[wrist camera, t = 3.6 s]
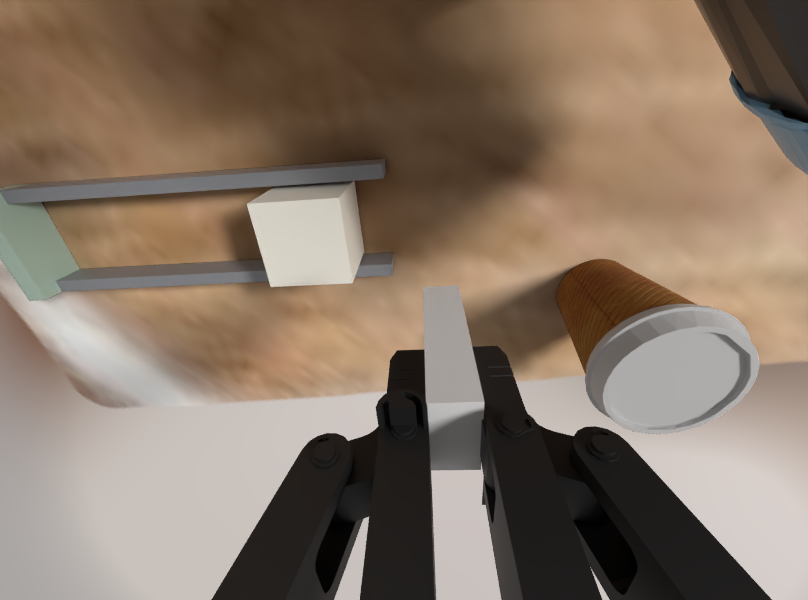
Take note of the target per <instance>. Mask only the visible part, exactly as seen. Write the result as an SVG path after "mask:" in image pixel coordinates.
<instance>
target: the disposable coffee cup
mask: <svg viewBox="0 0 808 600" xmlns="http://www.w3.org/2000/svg"><path fill="white" fill-rule="evenodd" d="M556 299H557V304H558V307H559V309H560V311H561V314H562V316H563V319H564V321H565V324H566V326H567V329H568V332H569V334H570V336H571V339H572V341H573V344H574V346H575V349H576V352H577V354H578V357H579V359H580V362H581V364H582V366H583V369H584V371H585V374H586V376H585V382H586V391H587V394H588V396H589V398H590V400H591V402H592V404H593V405H594V406H595V407H596V408H597V409H598V410H599V411H600V412H602V413H603V414H605V415H606V416H608V417H610V418H611V419H612V420H613V421H614V422H615V423H617V424H618V425H620V426H622V427H623V428H626V429H628V430H631V431H634V432H640V433H646V434H668V433H674V432H680V431H685V430H688V429H691V428H694V427H698V426H701V425H703V424H705V423H707V422H709V421H711V420H713V419H716V418H717V417H720V416H721V415H723V414H724V413H725V412H727V411H728V410H729V409H731V408H732V407H734V406H735V405H736V404H738V402H739V401H740V400H741V399H742V398H743V397H744V396H745V395H746V394H747V392H748V391H749V390H750V389H751V387H752V385H753V383H754V381H755V379H756V378H757V375H758V370H759V365H760V364H759V358H758V353H757V350H756V348H755V347H754V345H753V344H752V343H751V341H750V335H749V334H748V332H747V330H746V328H745V327H744V325H743V324H742V323H741V322H740V321H739V320H738V319H736V318H735V317H733V316H731V315H730V314H728V313H726V312H725V311H721V310H718V309H714V308H711V307H708V306H700V305H697V304H695V303H693V302H691V301H689V300H687V299H685V298H683V297H681V296H680V295H678V294H675V293H674V292H672V291H670V290H668V289H666V288H664V287H662V286H661V285H659V284H657V283H655V282H653V281H651V280H649V279H647V278H645V277H643V276H642V275H640V274H638V273H636V272H634V271H632V270H630V269H628V268H626V267H624V266H623V265H621V264H619V263H617V262H615V261H612V260H607V259H597V260H592V261H588V262H585V263H583V264H580V265H579V266H577V267H575V268H574V269H572V270H571V271H570V272H569V273H568V274H567V275H566V276H565V277H564V278H563V280H562V281H561V283H560V285H559V287H558V290H557V297H556Z"/></svg>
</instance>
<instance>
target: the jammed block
mask: <svg viewBox="0 0 808 600" xmlns="http://www.w3.org/2000/svg"><path fill="white" fill-rule="evenodd" d="M247 207H248V210H249V214H250V217H251V221H252V224H253V227H254V231H255V234H256V238H257V241H258V245H259V248H260V252H261V255H262V259H263V262H264V265H265V269H266V272H267V276H268V279H269V283H270V286H271V287H282V286H304V285H325V284H346V283H353V281H354V278H355V276H356V273H357V270H358V267H359V264H360V262H361V259H362V256H363V253H364V246H363V239H362V232H361V224H360V217H359V209H358V202H357V195H356V187H355V181H343V182H328V183H313V184H298V185H283V186H275V187H274V188H272V189H270V190H269V191H267V192H265V193H264V194H262V195H260V196H259V197H257V198H255V199H254V200H252V201H250V202H249V203H247Z"/></svg>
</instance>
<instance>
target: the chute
mask: <svg viewBox="0 0 808 600" xmlns="http://www.w3.org/2000/svg"><path fill="white" fill-rule="evenodd" d="M385 174H386V164H385V159H373V160H359V161H345V162H331V163H317V164H303V165H289V166H275V167H260V168H246V169H232V170H218V171H204V172H190V173H176V174H162V175H148V176H134V177H119V178H105V179H91V180H77V181H63V182H49V183H35V184H21V185H11V186H7V187H2V188H0V259H1V260H2V261H3V263H4V264H5V266H6V267H7V269H8V270H9V272H10V273H11V275H12V276H13V278H14V279H15V280H16V282H17V283H18V285H19V286H20V288H21V289H22V291H23V292H24V294H25V295H26V297H27V298H28V300H29V301H33V300H47V299H48V298H50V297H52V296H54V295H56V294H58V293H60V292H62V291H80V290H101V289H122V288H143V287H163V286H184V285H205V284H226V283H246V282H267V281H269V279H268V276H267V272H266V269H265V265H264V262H263V259H260V260H241V261H222V262H203V263H184V264H165V265H146V266H127V267H108V268H89V269H80V268H79V267H78V265H77V263H76V261H75V260H74V258H73V256H72V254H71V253H70V251H69V249H68V248H67V246H66V244H65V242H64V241H63V239H62V237H61V235H60V234H59V232H58V230H57V228H56V227H55V225H54V223H53V221H52V220H51V218H50V216H49V214H48V213H47V211H46V209H45V207H44V206H43V204H42V202H45V201H60V200H74V199H89V198H104V197H119V196H134V195H149V194H164V193H179V192H194V191H209V190H224V189H239V188H253V187H268V186H283V185H298V184H313V183H328V182H343V181H358V180H373V179H384V176H385ZM394 264H395V262H394V252H393V253H374V254H363V256H362V259H361V262H360V264H359V267H358V270H357V273H356V276H355V277H371V276H392V275H393V270H394Z"/></svg>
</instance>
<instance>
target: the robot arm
mask: <svg viewBox="0 0 808 600" xmlns="http://www.w3.org/2000/svg"><path fill="white" fill-rule="evenodd" d="M694 1H695V3H696V5H697V7H698V8H699V10H700V12H701V14H702V16H703V18H704V20H705V21H706V23H707V25H708V27H709V29H710V31H711V32H712V34H713V36H714V38H715V40H716V42H717V44H718V45H719V47H720V49H721V51H722V53H723V55H724V57H725V58H726V60H727V62H728V64H729V66H730V68H731V69H732V71H731V76H730V78H729V80H730V83H731V86H732V89H733V91H734V93H735V95H736V96H737V98H738V99H739V100H740V101H741V103H742V104H743V105H744V106H745V107H746V108H747V109H749V110H750V111H751V112H752V113H753V114H755V115H756V116H758V117H760V119H761V120H762V122H763V123H764V125H765V126H766V128H767V129H768V131H769V132H770V134H771V135H772V137H773V138H774V140H775V141H776V143H777V144H778V146H779V147H780V149H781V150H782V152H783V153H784V154H785V156H786V157H787V158H788V159H789V160H790V161H791V162H792V163H793V164H794V165H795V166H796V167H797V168H799V169H800V170H802V171H803V172H804V173H805V174H807V175H808V0H694ZM423 314H424V350H399V351H396V353H395V354H394V356H393V357H392V358H391V360H390V368H389V377H388V387H387V394H385V395H384V396H383V397H382V398H381V399H380V400H379V401H378V404H377V406H376V411H377V418H378V425H379V426H378V427H377V428H376V429H375V430H374V431H373V432H371V433H370V434H368V435H365V436H363V437H360V438H357V439H354V440H350V441H347V439H346V438H345V437H344V436H341V435H339V434H335V433H333V434H332V433H331V434H330V433H327V434H323V435H320V436H317V437H316V438H314V439H312V440H311V441H309V442H308V443H307V445H306V446H305V447H304V448H303V449H302V451H301V452H300V454H299V456H298V457H297V459H296V461H295V462H294V464H293V466H292V467H291V469H290V471H289V472H288V474H287V476H286V477H285V479H284V481H283V482H282V484H281V486H280V487H279V489H278V491H277V492H276V494H275V495H274V497H273V499H272V501H271V502H270V504H269V506H268V507H267V509H266V511H265V512H264V514H263V515H262V517H261V519H260V520H259V522H258V524H257V525H256V527H255V529H254V530H253V532H252V534H251V535H250V537H249V539H248V540H247V542H246V543H245V545H244V547H243V549H242V550H241V552H240V554H239V555H238V557H237V558H236V560H235V562H234V563H233V565H232V567H231V568H230V570H229V572H228V573H227V575H226V577H225V578H224V580H223V582H222V583H221V585H220V587H219V588H218V590H217V591H216V593H215V595H214V597H213V598H212V600H334V598H335V595H336V592H337V590H338V587H339V584H340V581H341V579H342V576H343V573H344V570H345V568H346V565H347V562H348V559H349V557H350V554H351V551H352V548H353V546H354V543H355V540H356V537H357V534H358V531H359V529H360V526H361V523H362V521H363V518H366V517H369V524H368V533H367V541H366V551H365V559H364V568H363V577H362V585H361V594H360V600H436V588H435V587H436V585H435V561H434V535H433V508H432V486H431V485H432V484H431V470H480V469H481V463H482V469H483V474H484V481H483V497H482V505H486V509H487V515H488V521H489V526H490V533H491V539H492V545H493V551H494V557H495V563H496V569H497V575H498V580H499V587H500V593H501V599H502V600H602V598H601V595H600V592H599V590H598V587H597V584H596V581H595V579H594V576H593V574H592V571H591V568H592V570H593V572H594V574H595V575H596V577H597V579H598V580H599V582H600V584H601V585H602V587H603V589H604V591H605V592H606V594H607V596H608V597H609V599H610V600H772V599H770V597H769V596H768V595H767V594H766V593H765V592H764V591H763V590H762V589H761V587H760V586H759V585H758V584H757V583H756V582H755V581H754V580H753V579H752V578H751V577H750V575H748V573H747V572H746V571H745V570H744V569H743V568H742V567H741V566H740V565H739V564H738V562H736V560H735V559H734V558H733V557H732V556H731V555H730V554H729V553H728V551H727V550H726V549H725V548H724V547H723V546H722V545H721V544H720V543H719V542H718V541H717V539H716V538H715V537H714V536H713V535H712V534H711V533H710V532H709V531H708V530H707V529H706V528H705V527H704V525H703V524H702V523H701V522H700V521H699V520H698V519H697V518H696V517H695V516H694V515H693V513H692V512H691V511H690V510H689V509H688V508H687V507H686V506H685V505H684V504H683V503H682V501H680V499H679V498H678V497H677V496H676V495H675V494H674V493H673V492H672V490H671V489H670V488H669V487H668V486H667V485H666V484H665V483H664V482H663V481H662V480H661V479H660V477H659V476H658V475H657V474H656V473H655V472H654V471H653V470H652V469H651V468H650V466H648V464H647V463H646V462H645V461H644V460H643V459H642V458H641V457H640V456H639V455H638V454H637V452H636V451H635V450H634V449H633V448H632V447H631V446H630V445H629V444H628V443H627V442H626V441H625V440H624V439H623V438H621V437H620V436H619V435H618V434H616V433H614V432H612V431H610V430H608V429H604V428H600V427H584V428H582V429H580V430H578V431H577V433H576V434H575V436H570V435H566V434H561V433H557V432H554V431H551V430H548V429H545V428H543V427H542V426H539V425H538V424H537V423H536V422H535V420H534V419H533V418H532V417H531V416H530V415H528V414H527V412H526V410H525V407H524V404H523V401H522V398H521V396H520V393H519V390H518V387H517V384H516V381H515V378H514V377H513V373H512V370H511V368H510V364H509V361H508V358H507V355H506V354H505V353H504V352H503V351H502V350H501V349H500V348H499V347H498V346H484V347H472V344H471V339H470V335H469V330H468V326H467V321H466V317H465V312H464V308H463V303H462V299H461V294H460V290H459V285H456V286H435V287H423ZM590 567H591V568H590Z"/></svg>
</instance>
